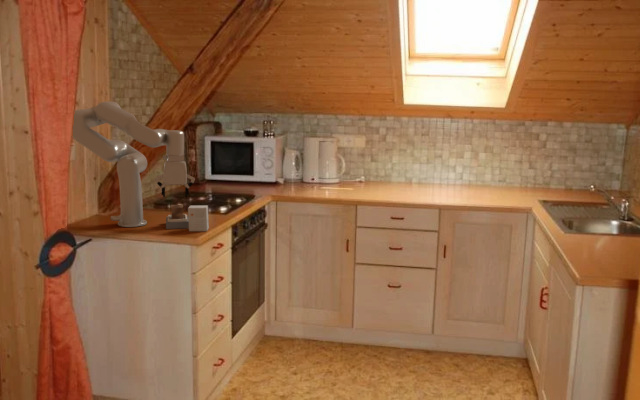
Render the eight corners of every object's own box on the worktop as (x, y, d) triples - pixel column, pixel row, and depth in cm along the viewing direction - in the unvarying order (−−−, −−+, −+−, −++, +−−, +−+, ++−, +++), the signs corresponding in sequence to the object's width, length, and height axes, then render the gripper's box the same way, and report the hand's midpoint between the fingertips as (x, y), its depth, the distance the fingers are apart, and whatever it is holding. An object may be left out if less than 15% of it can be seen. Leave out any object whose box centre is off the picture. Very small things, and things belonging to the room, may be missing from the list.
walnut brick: (171, 221, 271) (171, 207, 270) (171, 217, 278) (171, 204, 276) (183, 220, 272) (182, 207, 271) (182, 217, 279) (182, 204, 278)
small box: (208, 228, 271) (208, 205, 269) (207, 231, 266) (206, 207, 264) (190, 228, 271) (190, 205, 269) (188, 231, 265) (187, 207, 263)
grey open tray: (166, 229, 269) (165, 220, 268) (166, 223, 280) (166, 214, 280) (189, 228, 271) (189, 219, 270) (188, 222, 283) (188, 213, 282)
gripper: (154, 159, 265) (154, 198, 268) (195, 160, 269) (195, 198, 272) (155, 157, 272) (155, 195, 275) (195, 157, 276) (194, 195, 279)
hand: (175, 196), depth 273 cm, fingers open, 9 cm apart
